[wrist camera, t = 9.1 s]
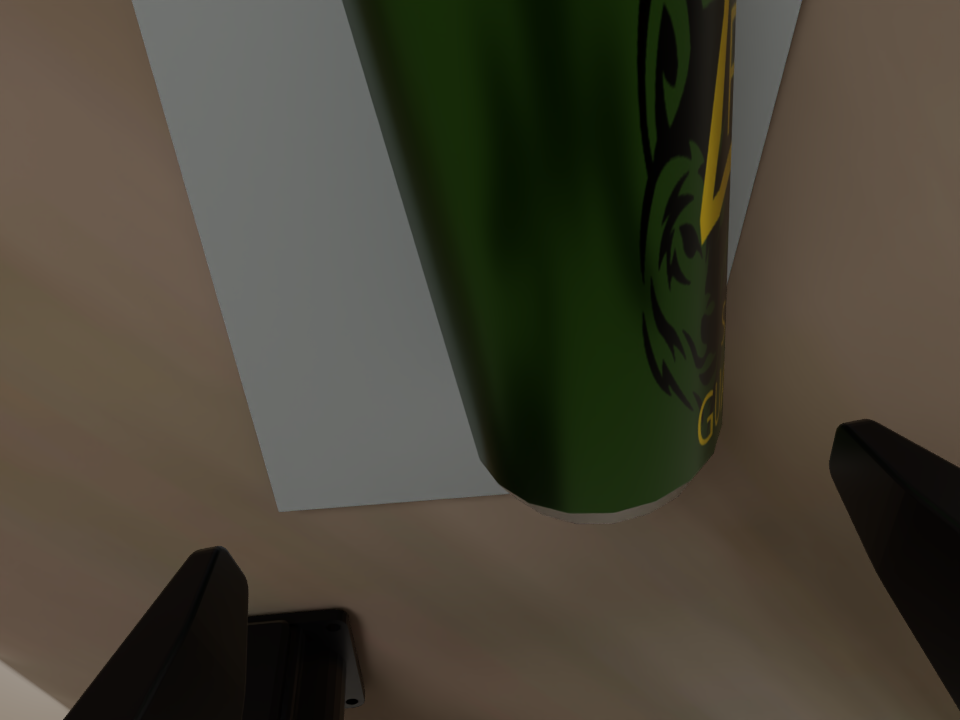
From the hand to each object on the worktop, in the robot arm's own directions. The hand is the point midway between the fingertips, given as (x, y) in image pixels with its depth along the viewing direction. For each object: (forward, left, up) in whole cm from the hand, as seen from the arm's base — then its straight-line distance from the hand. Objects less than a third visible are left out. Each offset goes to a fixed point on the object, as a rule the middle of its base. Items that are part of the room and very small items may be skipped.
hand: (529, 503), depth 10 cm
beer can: (-3, -2, -4) cm, 6 cm away
